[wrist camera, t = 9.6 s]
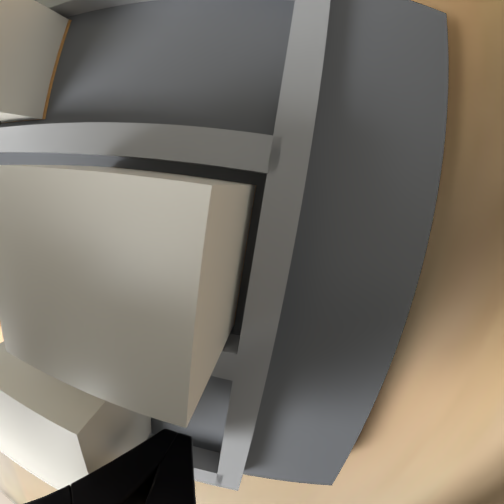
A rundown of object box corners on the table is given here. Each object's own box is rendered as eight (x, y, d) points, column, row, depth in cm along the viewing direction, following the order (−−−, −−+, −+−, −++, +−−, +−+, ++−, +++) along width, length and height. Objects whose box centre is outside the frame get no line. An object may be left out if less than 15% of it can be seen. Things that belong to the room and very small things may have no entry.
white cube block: (255, 185, 7) (211, 184, 4) (233, 325, 8) (186, 428, 4) (109, 166, 8) (-5, 164, 4) (101, 292, 9) (5, 351, 5)
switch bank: (429, 32, 7) (459, -2, 5) (330, 458, 11) (332, 504, 8) (-16, 47, 9) (-48, 38, 7) (-29, 332, 13) (-57, 348, 10)
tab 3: (150, 349, 9) (77, 434, 5) (151, 431, 10) (103, 513, 6) (49, 314, 9) (-34, 364, 5) (61, 394, 10) (1, 452, 6)
